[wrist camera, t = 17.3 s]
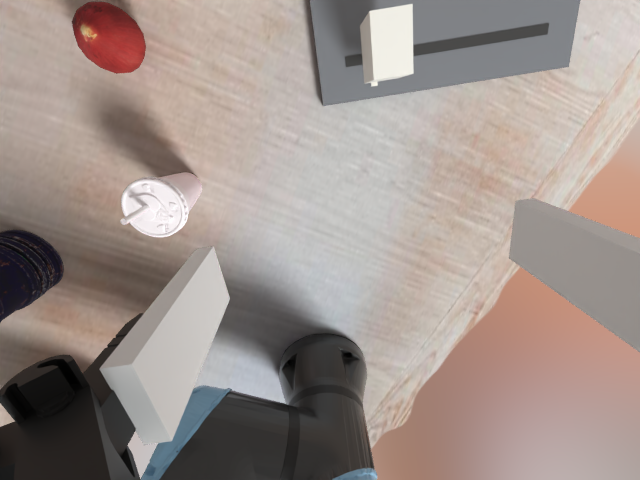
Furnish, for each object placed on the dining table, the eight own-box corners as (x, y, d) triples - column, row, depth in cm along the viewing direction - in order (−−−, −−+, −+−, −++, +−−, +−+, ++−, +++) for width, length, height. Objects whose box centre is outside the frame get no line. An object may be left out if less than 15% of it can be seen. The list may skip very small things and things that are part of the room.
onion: (94, 48, 33) (33, 32, 26) (118, -1, 31) (60, -32, 24) (143, 87, 35) (98, 82, 27) (168, 43, 33) (128, 26, 26)
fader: (390, 80, 34) (413, 73, 26) (359, 85, 34) (373, 79, 26) (388, 27, 31) (412, 3, 24) (355, 32, 32) (369, 11, 24)
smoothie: (174, 151, 38) (105, 175, 25) (221, 179, 39) (178, 215, 26) (155, 193, 40) (82, 234, 27) (200, 217, 41) (151, 268, 29)
